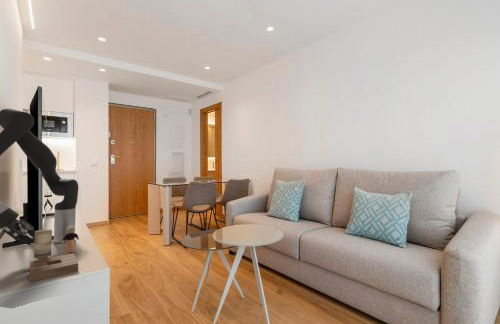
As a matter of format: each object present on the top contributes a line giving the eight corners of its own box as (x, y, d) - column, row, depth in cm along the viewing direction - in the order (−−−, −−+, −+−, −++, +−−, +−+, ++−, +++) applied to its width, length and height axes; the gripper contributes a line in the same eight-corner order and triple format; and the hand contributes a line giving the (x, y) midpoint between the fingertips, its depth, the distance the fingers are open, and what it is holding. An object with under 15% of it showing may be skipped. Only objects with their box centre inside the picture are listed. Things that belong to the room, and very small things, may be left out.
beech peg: (33, 261, 104) (34, 230, 104) (50, 258, 108) (51, 228, 108) (33, 265, 100) (34, 233, 100) (51, 262, 104) (52, 231, 104)
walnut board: (29, 269, 97) (30, 261, 97) (73, 260, 106) (73, 253, 106) (29, 281, 86) (30, 273, 86) (78, 271, 96) (78, 263, 96)
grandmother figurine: (66, 256, 111) (67, 227, 111) (59, 255, 112) (59, 227, 112) (81, 250, 118) (81, 224, 119) (74, 250, 119) (75, 223, 119)
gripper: (0, 210, 93) (38, 237, 98) (15, 204, 106) (48, 229, 111) (-20, 225, 91) (20, 252, 95) (-2, 218, 103) (32, 242, 108)
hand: (35, 240), depth 103 cm, fingers open, 8 cm apart
